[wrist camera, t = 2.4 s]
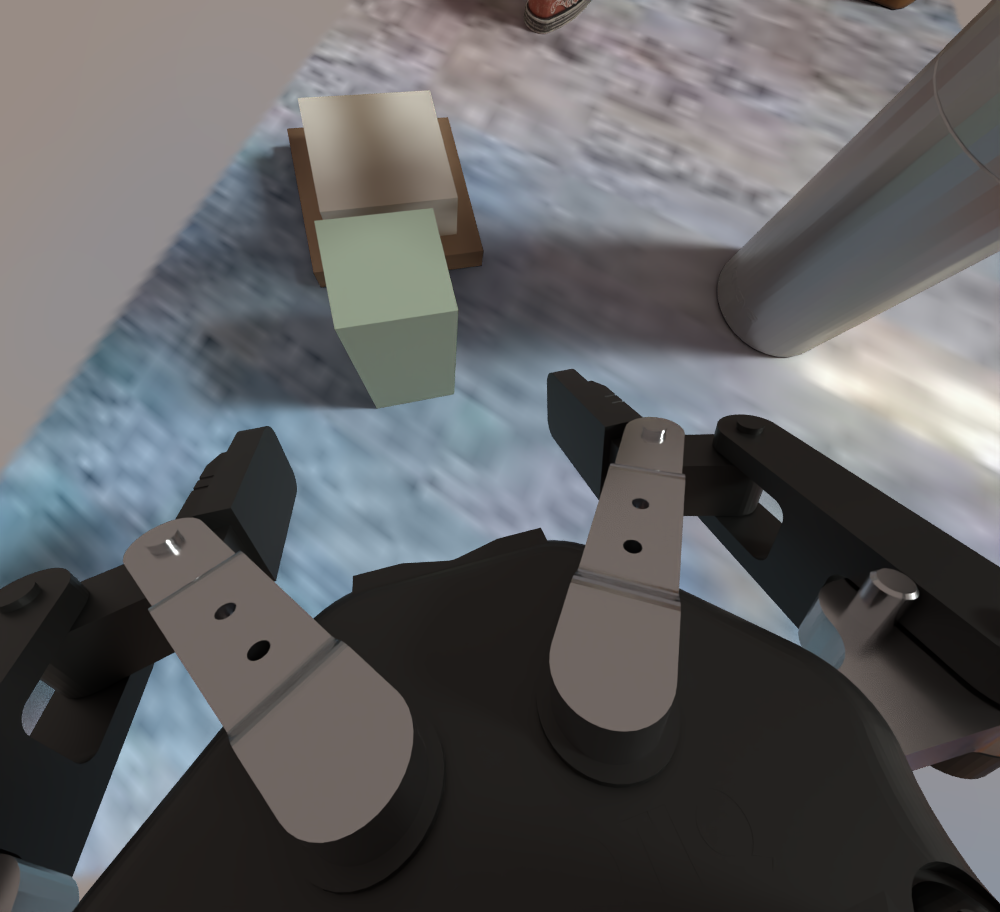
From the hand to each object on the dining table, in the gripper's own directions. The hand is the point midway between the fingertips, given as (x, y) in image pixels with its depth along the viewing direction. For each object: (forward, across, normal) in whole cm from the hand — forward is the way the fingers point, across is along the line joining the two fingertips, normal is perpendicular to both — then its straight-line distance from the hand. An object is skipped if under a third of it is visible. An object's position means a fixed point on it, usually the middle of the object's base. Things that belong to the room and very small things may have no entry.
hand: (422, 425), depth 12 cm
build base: (+24, -1, -5) cm, 24 cm away
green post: (+15, 0, +4) cm, 16 cm away
